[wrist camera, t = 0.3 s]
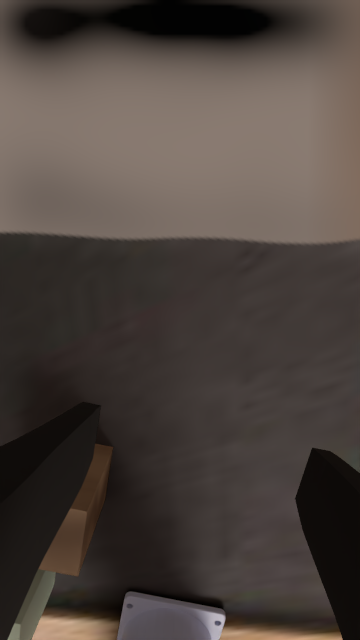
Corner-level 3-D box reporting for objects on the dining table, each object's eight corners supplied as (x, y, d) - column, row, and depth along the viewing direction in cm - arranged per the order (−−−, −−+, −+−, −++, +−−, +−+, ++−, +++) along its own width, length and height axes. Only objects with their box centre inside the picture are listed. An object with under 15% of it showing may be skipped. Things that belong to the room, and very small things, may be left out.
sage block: (54, 584, 25) (16, 676, 20) (-1, 573, 25) (-54, 662, 20) (59, 539, 24) (20, 624, 19) (2, 528, 24) (-54, 610, 19)
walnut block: (105, 499, 23) (77, 576, 17) (45, 487, 23) (-1, 561, 17) (113, 446, 22) (86, 511, 16) (50, 434, 22) (3, 495, 16)
